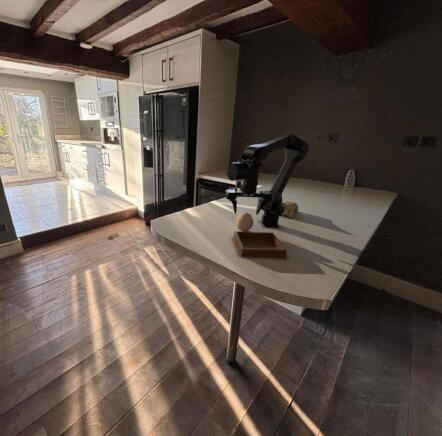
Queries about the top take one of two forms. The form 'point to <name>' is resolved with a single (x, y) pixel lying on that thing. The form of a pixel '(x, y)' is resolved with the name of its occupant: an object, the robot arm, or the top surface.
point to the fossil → (289, 208)
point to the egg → (244, 222)
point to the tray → (259, 245)
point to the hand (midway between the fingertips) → (245, 214)
